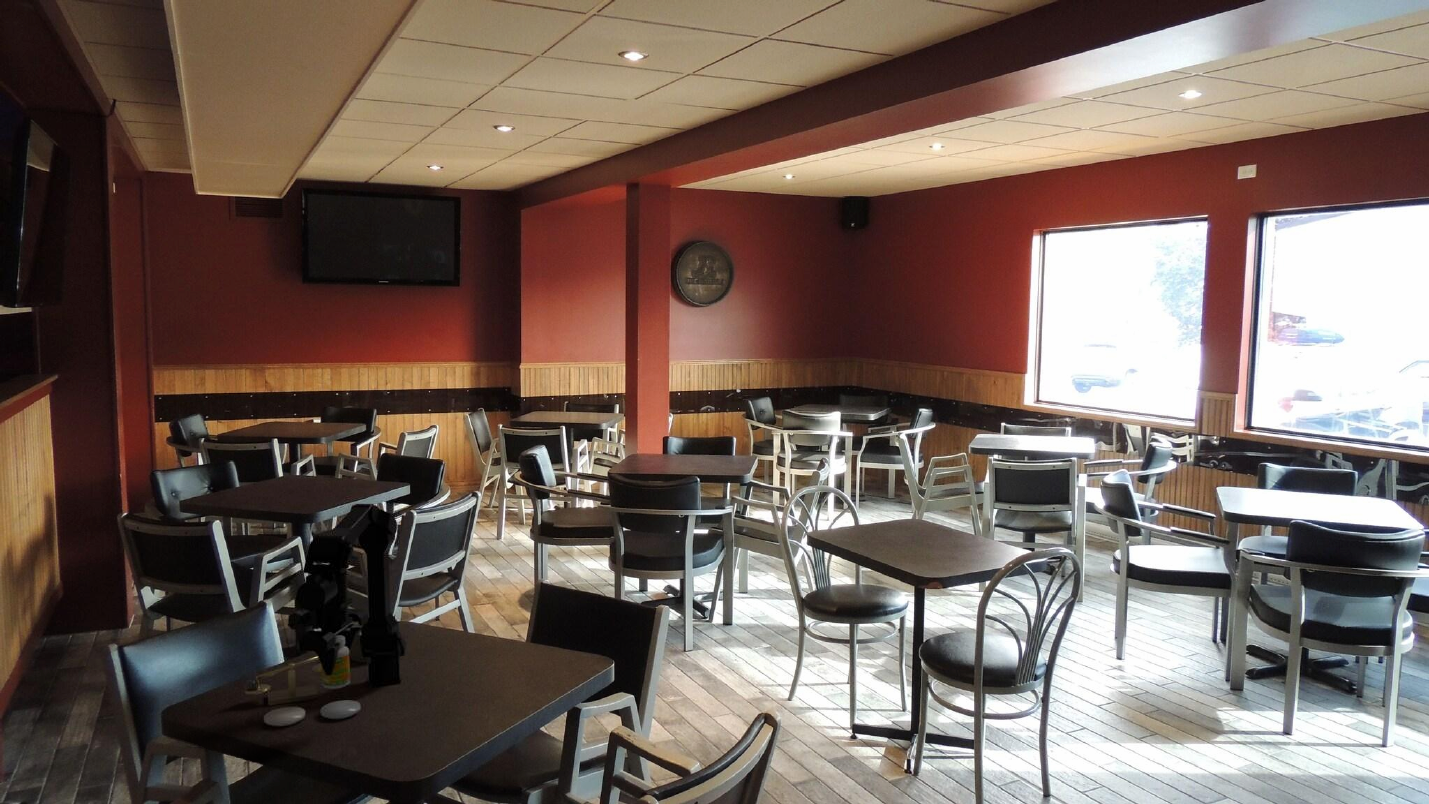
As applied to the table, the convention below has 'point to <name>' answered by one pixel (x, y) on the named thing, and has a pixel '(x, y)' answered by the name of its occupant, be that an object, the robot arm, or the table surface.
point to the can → (358, 649)
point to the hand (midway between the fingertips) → (335, 669)
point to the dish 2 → (340, 709)
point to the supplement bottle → (338, 667)
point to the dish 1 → (284, 716)
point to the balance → (286, 694)
